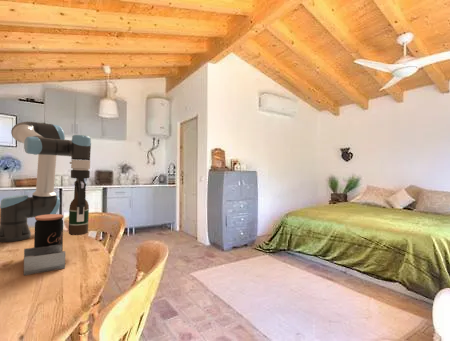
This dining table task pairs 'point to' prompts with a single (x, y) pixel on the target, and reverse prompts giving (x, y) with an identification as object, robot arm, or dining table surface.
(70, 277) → the dining table surface
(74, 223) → the beer bottle
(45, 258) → the bracket
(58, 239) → the coffee jar
